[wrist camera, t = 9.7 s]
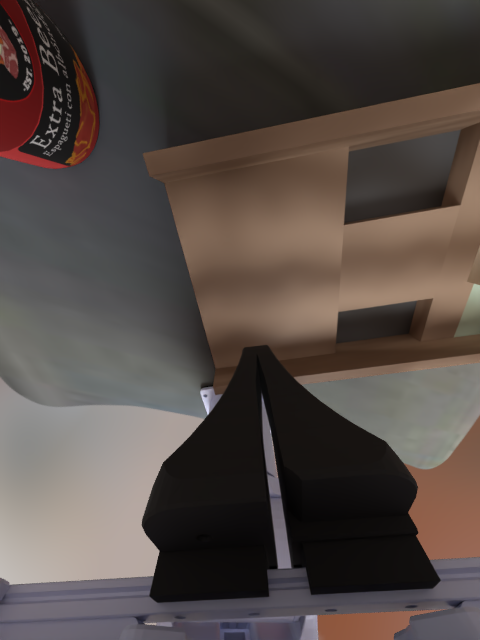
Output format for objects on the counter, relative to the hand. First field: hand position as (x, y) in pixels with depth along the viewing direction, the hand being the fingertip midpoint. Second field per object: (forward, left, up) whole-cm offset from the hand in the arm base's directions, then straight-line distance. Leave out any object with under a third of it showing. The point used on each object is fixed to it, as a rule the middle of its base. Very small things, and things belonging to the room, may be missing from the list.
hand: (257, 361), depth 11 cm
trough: (+2, -10, -9) cm, 13 cm away
